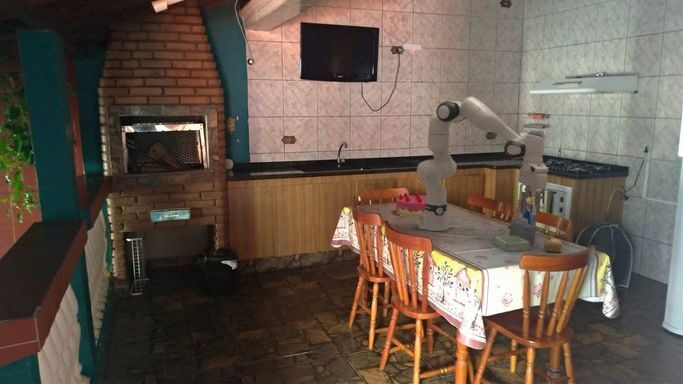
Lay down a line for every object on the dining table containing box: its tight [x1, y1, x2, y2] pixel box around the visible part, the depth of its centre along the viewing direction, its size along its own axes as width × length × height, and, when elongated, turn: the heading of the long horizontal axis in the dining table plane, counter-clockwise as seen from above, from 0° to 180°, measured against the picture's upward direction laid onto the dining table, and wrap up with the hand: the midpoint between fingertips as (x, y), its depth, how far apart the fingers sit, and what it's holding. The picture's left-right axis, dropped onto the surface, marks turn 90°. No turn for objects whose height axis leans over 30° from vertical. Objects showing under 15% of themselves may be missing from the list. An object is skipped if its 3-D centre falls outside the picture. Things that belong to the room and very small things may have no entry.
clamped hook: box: [516, 199, 537, 219], centre depth 252 cm, size 14×2×13 cm, turn 9°
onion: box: [543, 236, 563, 253], centre depth 240 cm, size 8×8×7 cm
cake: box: [395, 191, 426, 219], centre depth 323 cm, size 28×28×12 cm
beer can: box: [523, 207, 536, 228], centre depth 267 cm, size 8×8×16 cm
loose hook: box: [520, 190, 542, 214], centre depth 247 cm, size 2×9×10 cm, turn 99°
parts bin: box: [493, 235, 531, 253], centre depth 247 cm, size 13×12×4 cm
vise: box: [507, 216, 536, 246], centre depth 257 cm, size 14×8×11 cm, turn 9°
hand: (531, 195), depth 247 cm, fingers closed on loose hook, 2 cm apart
